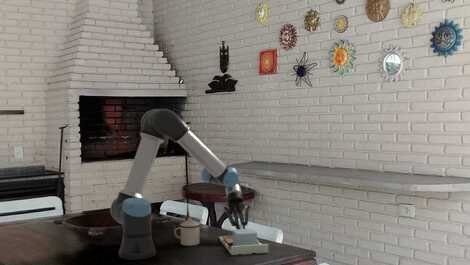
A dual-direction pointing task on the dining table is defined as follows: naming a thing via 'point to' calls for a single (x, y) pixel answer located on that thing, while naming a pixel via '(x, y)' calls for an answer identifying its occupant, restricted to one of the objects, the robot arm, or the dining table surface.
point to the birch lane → (227, 244)
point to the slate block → (244, 237)
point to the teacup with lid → (189, 232)
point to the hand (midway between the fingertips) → (242, 238)
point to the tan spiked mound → (188, 215)
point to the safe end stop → (249, 249)
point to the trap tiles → (229, 240)
